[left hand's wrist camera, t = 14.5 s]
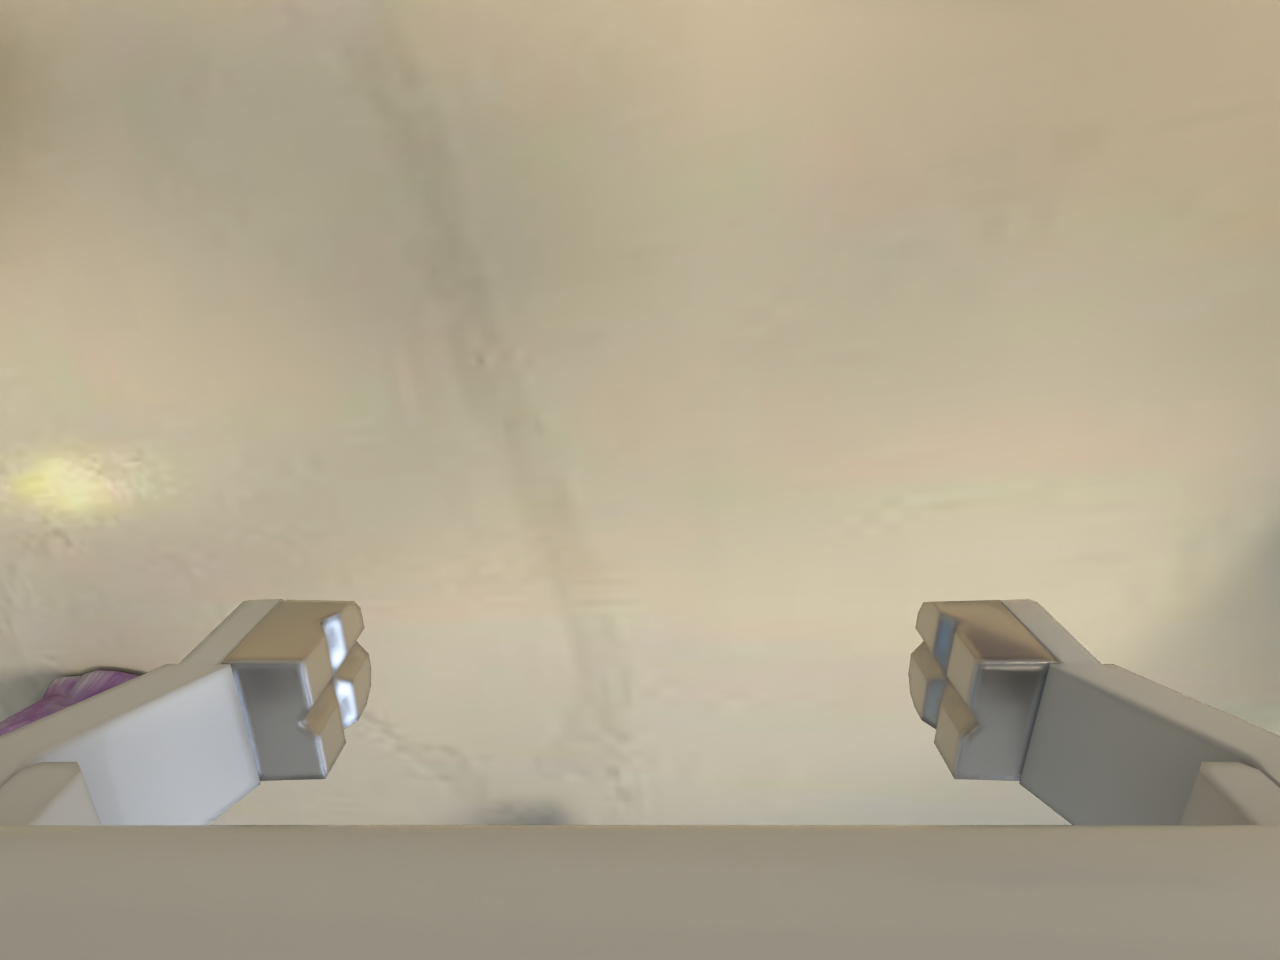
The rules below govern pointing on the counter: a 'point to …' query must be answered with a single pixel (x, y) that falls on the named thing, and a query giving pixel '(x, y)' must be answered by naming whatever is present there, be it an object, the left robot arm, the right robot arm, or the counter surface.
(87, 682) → the figurine
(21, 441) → the counter surface
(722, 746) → the counter surface
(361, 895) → the left robot arm
